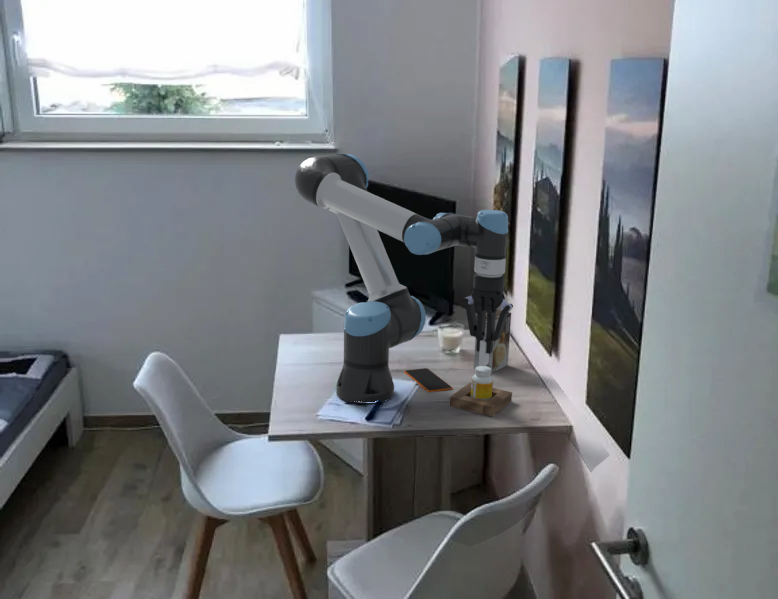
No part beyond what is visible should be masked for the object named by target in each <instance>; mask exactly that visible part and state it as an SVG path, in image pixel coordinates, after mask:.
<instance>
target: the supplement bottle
mask: <svg viewBox="0 0 778 599" xmlns="http://www.w3.org/2000/svg"><path fill="white" fill-rule="evenodd" d="M491 374H492V373H491V368H489V367H487V366H478V367H476V368H474V374H473V376H472V377H471V382H470V383H471V396H470V397H472V398H477V399H481V400H485V401H489V400H490V399H491V398H492V388H493V386H494V385H493V383H494V379H493V376H491Z"/></svg>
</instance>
